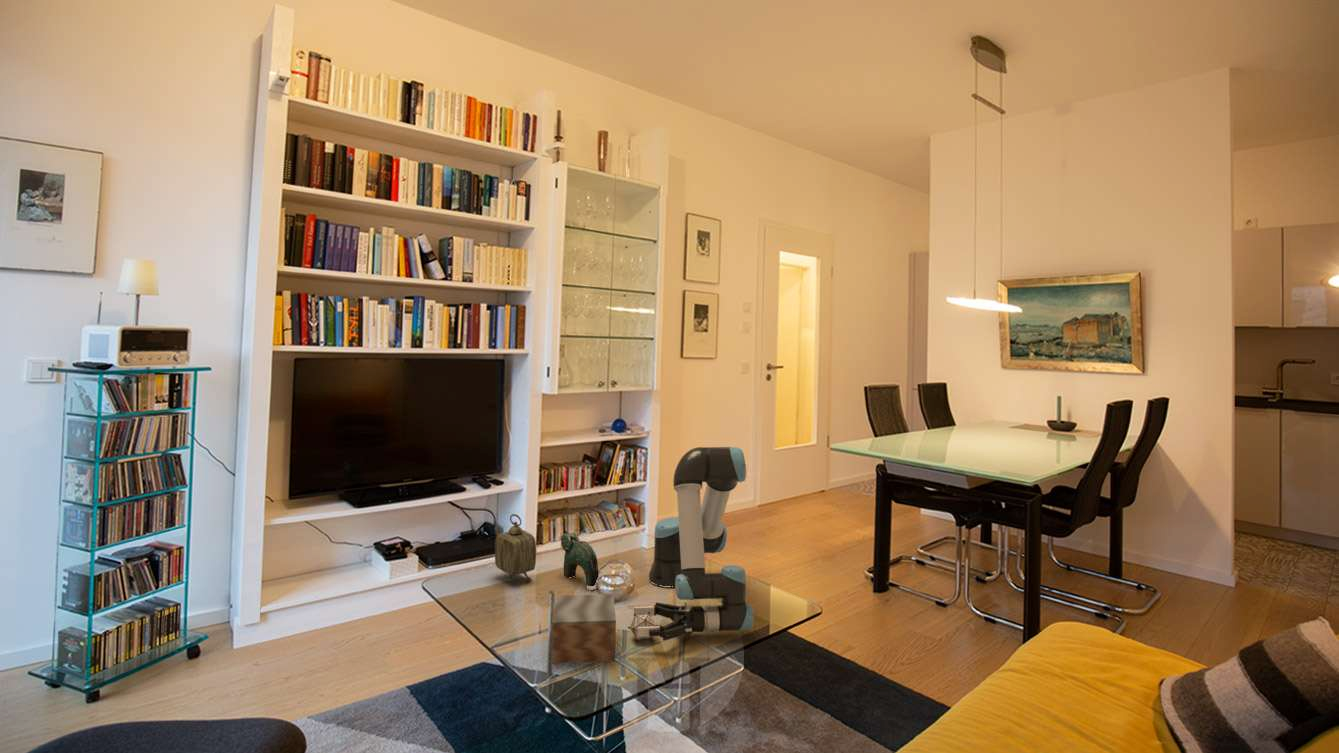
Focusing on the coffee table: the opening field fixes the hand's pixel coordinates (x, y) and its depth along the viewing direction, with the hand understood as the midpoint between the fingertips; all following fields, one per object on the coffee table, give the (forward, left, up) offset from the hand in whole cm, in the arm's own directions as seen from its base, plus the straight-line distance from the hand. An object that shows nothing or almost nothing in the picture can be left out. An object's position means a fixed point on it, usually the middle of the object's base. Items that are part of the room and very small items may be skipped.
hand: (635, 621), depth 197 cm
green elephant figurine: (+17, -46, -6) cm, 49 cm away
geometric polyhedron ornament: (-2, 0, -6) cm, 7 cm away
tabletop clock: (+42, -49, -6) cm, 65 cm away
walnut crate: (+16, +3, -6) cm, 17 cm away
